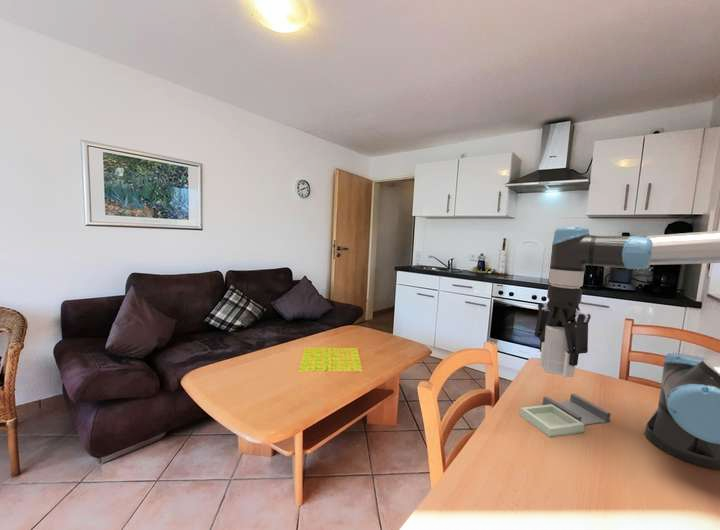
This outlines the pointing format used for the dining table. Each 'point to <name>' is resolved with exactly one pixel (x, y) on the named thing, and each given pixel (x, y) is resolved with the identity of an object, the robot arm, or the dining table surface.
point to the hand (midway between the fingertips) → (555, 370)
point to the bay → (581, 410)
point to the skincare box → (554, 350)
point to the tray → (552, 420)
